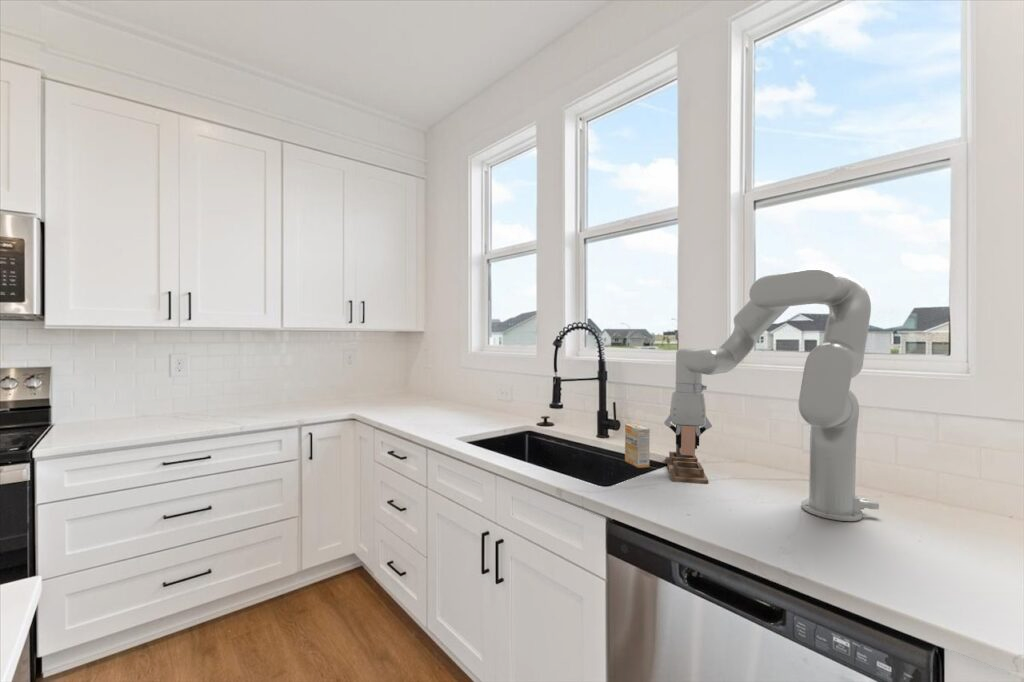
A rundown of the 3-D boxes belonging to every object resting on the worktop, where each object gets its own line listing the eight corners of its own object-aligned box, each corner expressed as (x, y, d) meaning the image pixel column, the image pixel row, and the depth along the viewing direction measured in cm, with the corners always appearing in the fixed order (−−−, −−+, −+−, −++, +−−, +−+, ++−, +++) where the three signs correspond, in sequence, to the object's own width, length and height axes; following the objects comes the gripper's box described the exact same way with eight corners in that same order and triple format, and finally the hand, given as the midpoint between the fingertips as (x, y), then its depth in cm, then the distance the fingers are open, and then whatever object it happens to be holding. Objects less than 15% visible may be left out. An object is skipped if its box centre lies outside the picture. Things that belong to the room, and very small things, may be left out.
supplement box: (624, 461, 162) (624, 423, 161) (636, 460, 163) (636, 423, 163) (637, 468, 154) (637, 428, 154) (650, 467, 155) (650, 427, 155)
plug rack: (696, 461, 162) (696, 438, 161) (708, 483, 138) (708, 456, 138) (665, 459, 164) (665, 437, 164) (672, 481, 141) (672, 454, 140)
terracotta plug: (693, 452, 147) (693, 423, 147) (694, 455, 143) (695, 426, 143) (679, 451, 148) (680, 423, 148) (681, 454, 144) (681, 425, 144)
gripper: (715, 388, 146) (713, 446, 147) (659, 386, 150) (658, 442, 151) (719, 391, 139) (718, 452, 140) (660, 389, 143) (660, 448, 144)
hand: (687, 446), depth 145 cm, fingers closed on terracotta plug, 4 cm apart
